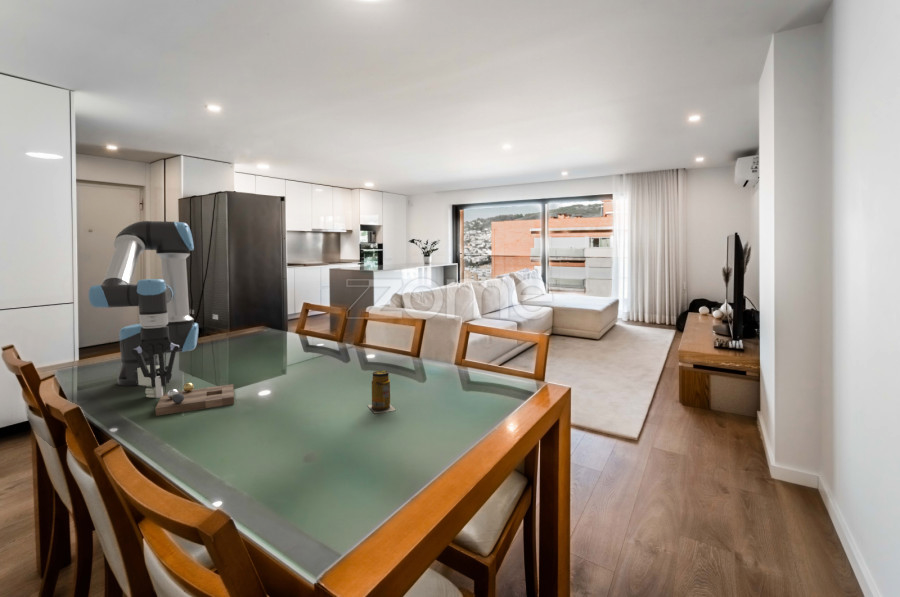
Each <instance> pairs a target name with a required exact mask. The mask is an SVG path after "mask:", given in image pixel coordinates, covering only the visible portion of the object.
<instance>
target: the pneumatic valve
mask: <svg viewBox="0 0 900 597" xmlns="http://www.w3.org/2000/svg"><path fill="white" fill-rule="evenodd" d="M146 366H147V368H148V371H149V373H150V365H146ZM167 369H168V365H165V371H167ZM156 374H157V375H156V376H160V367H159V365H156ZM134 378H135V380H137V385H136V386H146V388H145V394H146V398H151V399H155V398H156V387H155V388H152V385H151V378H149V377H144V375H143V373H142V370H141V368H140V367H138V368H136V371H135V373H134ZM171 378H172V373H171V374H170V375H167V376H166V385H167V384H169V383H170V381H171ZM156 399H157V398H156Z"/></svg>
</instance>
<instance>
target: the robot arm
mask: <svg viewBox="0 0 900 597" xmlns="http://www.w3.org/2000/svg"><path fill="white" fill-rule="evenodd" d="M194 245H195V244H194V240H193V235H192V231H191V229H190V226H189V224H188V223H186V222H183V221H181V222H180V221H152V220H150V221H149V220H142V221H136V222H134V223H132V224H129V225H128V226H126V227H124V228H123V229H121V231H119V233H118V234H117V235H116V237H115V239H114V241H113V247H114V250H113V254H112V257H111V259H110V262H109V265H108V267H107V270H106V273H105V276H104V278H103V281H102V282H101V284H96V285H92V286H90V288H89V289H88V301H89V303H90V305H91V306H92V307H93V308H96V309H98V308H99V309H101V308H103V309H104V308H107V309H111V308H124V307H125V308H127V307H138V313H139V314H138V316H139V323H136V324H131V325H130V324H129V325H126V326H124V327H122V328H120V329H119V332H118V333H119V339H118V341H119V349H120V351H119V352H120V359H121V365H120V369H119V372H118V375H117V380H116V381H117V385H118V386H125V387H126V386H127V387H128V386H129V387H130V386H138V385H137V380H135V378H134V373H135V371H136V368H138V367H140V368H141V370H142V373H143V375H144V377H149V378H151V385H152V386H151V387H152V388H155V387H156V399H157V398H159V399H160V398H161V397H162V396H163V393H164V389H163V387H166V385H167V384H166V376H167V375H170V374H172V372H173V368H174V365H175V364H174V363H175V358H176V354H177V353H179V352H180V353H185V352H190V351H193V350H195V349H196V347H197V344H198V338H199V323H197V322H195V319H194V318H193V317H192V316H191V315H190V305H189V290H188V289H189V288H188V270H187V258H188V257H190V255H191V252H190V251H194V249H195V246H194ZM145 251H155V255H156V256H157V257H158V258H160V259H161V260H160V263H161V277H162V278H143V279H139V280H137V282H136V284H133V283H132V282H133V279H134V276H135V272H136V269H137V265H138V262H139V258H140V255H142V254H143V253H144V252H145ZM165 354H170V356H169V360H168V365H167V366H168V369H167V371H165V366H166V361H165ZM146 365H150V373H149V371H148V368H147V366H146ZM156 365H159V367H160V376H156V375H157V374H156Z"/></svg>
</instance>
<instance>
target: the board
mask: <svg viewBox="0 0 900 597" xmlns="http://www.w3.org/2000/svg"><path fill="white" fill-rule="evenodd" d="M234 391H235V389H234V384H233V383H232V384H224V385H217V386H210V387H209V386H208V387H204V388H193V390H192V391H190V392H186V391H184V390H181V391H180V390H179V391H178V392H179V393H181V394H183V396H184V400H183V401H182V402H181V403H174V402H173V400H172V399H170V398H169V397H168V396H167V393H168V392H165V393H164V392H163V396H162V397H159V400H158V402H157V404H156V406H155V416H157V417H158V416H162V415H163V416H164V415H170V414H177V413H184V412H190V411H196V410H197V411H198V410H202V409H203V410H205V409H209V408H210V409H211V408H217V407H224V406H229V405H234V404H235V394H234V393H235V392H234Z"/></svg>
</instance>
